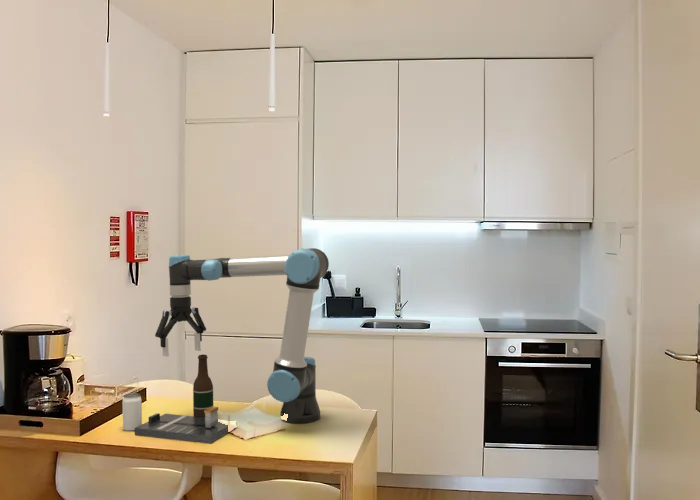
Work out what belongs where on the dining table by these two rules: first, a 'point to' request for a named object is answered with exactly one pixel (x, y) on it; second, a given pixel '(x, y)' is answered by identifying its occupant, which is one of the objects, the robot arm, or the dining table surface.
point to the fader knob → (211, 416)
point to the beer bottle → (202, 389)
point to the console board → (181, 428)
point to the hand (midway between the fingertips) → (182, 353)
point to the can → (132, 411)
